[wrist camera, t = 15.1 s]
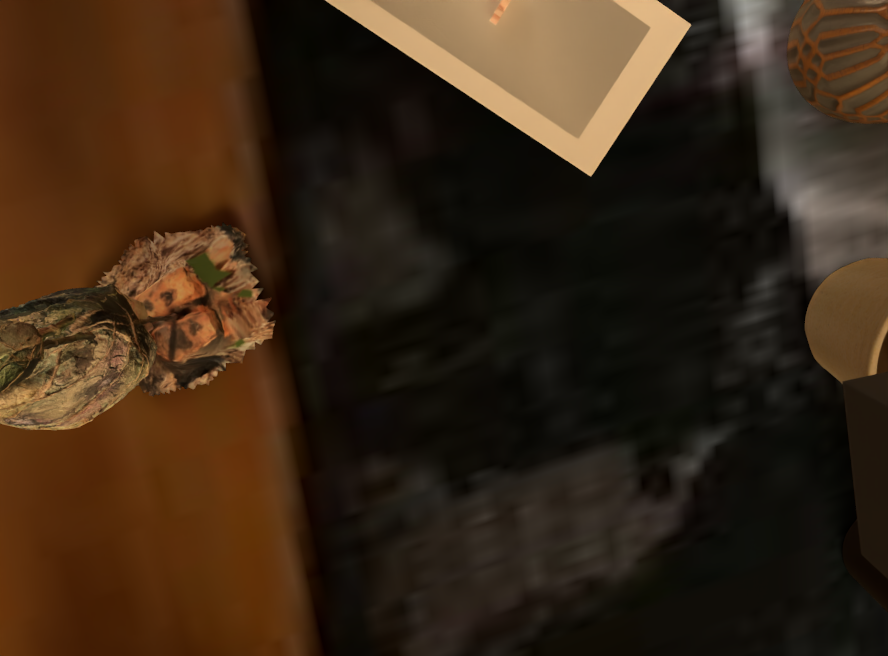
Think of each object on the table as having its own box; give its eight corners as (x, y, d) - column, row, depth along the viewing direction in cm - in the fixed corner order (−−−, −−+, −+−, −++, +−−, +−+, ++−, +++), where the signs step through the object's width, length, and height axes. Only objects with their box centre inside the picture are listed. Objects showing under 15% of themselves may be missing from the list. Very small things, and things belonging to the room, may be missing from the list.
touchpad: (586, 175, 36) (595, 177, 34) (313, -5, 34) (305, -16, 32) (683, 28, 35) (699, 20, 32) (404, -169, 33) (402, -192, 30)
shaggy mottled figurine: (31, 248, 36) (-433, 357, 17) (261, 213, 36) (61, 284, 17) (73, 405, 38) (-300, 668, 19) (293, 374, 38) (146, 607, 19)
